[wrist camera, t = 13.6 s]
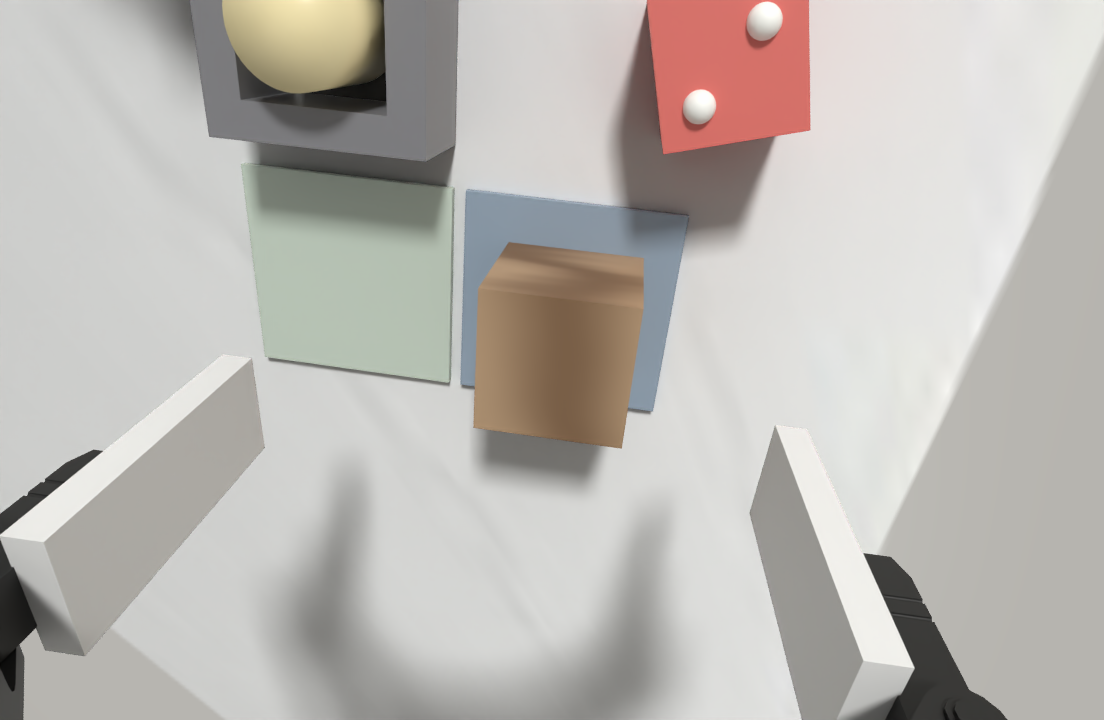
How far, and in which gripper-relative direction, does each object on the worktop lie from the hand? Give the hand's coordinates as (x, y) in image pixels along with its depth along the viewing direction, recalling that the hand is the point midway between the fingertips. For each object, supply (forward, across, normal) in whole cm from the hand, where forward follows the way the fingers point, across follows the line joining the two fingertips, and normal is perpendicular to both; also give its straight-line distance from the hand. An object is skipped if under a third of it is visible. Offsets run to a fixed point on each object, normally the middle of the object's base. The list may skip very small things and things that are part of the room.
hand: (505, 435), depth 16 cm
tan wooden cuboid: (+10, +1, 0) cm, 10 cm away
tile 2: (+10, +1, 0) cm, 10 cm away
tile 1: (+10, -8, 0) cm, 13 cm away
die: (+10, +5, +9) cm, 14 cm away
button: (+9, -7, +9) cm, 15 cm away
